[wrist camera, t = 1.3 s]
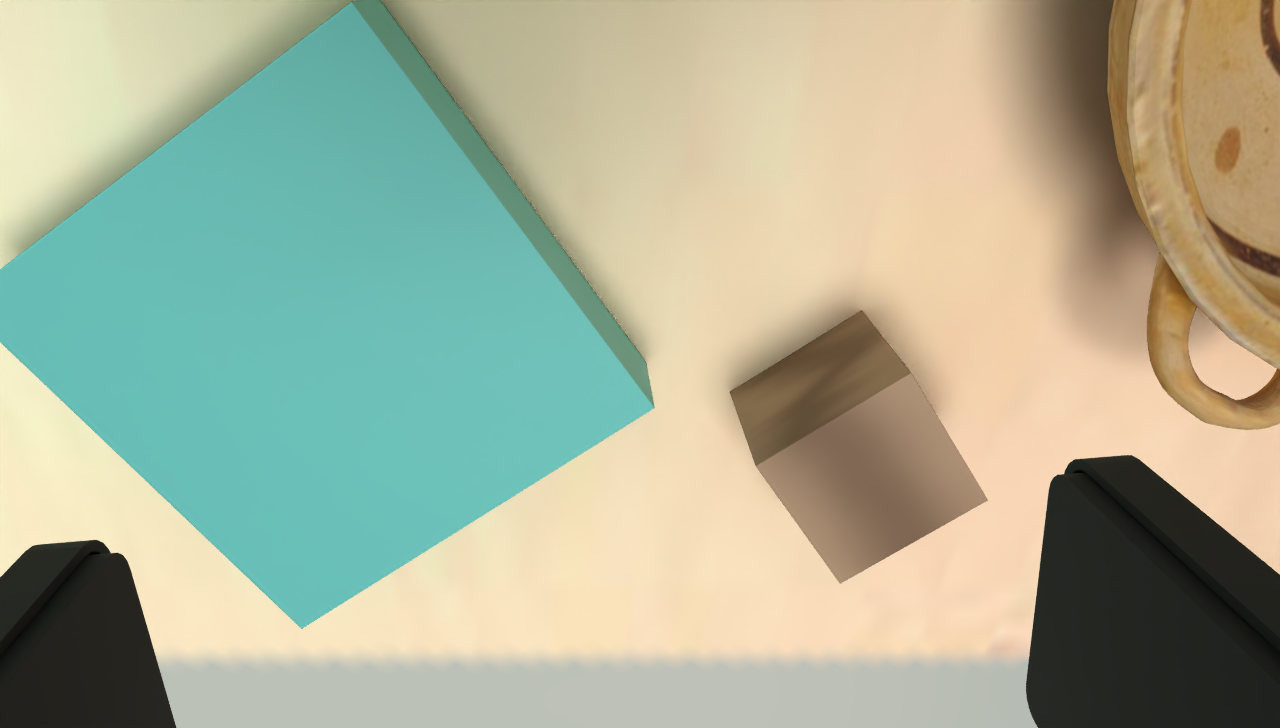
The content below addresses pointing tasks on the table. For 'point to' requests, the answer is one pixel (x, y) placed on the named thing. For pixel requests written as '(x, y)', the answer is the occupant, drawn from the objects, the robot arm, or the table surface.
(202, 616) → the table surface
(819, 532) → the walnut cube
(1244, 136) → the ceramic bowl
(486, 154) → the teal base
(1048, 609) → the robot arm
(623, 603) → the table surface
